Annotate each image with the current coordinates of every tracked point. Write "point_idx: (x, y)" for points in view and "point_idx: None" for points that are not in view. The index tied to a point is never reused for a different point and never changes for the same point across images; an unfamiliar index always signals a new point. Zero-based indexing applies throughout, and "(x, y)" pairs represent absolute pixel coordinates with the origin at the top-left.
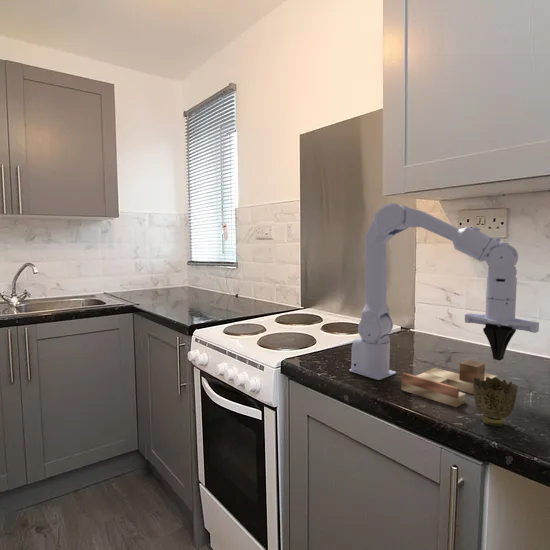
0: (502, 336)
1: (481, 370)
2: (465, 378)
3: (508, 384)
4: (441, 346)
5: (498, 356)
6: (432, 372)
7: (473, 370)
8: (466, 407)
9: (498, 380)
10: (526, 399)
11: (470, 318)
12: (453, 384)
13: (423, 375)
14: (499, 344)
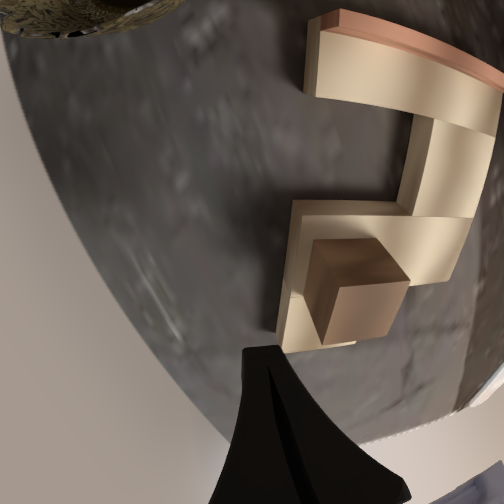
0: (240, 501)
1: (321, 305)
2: (360, 244)
3: (46, 31)
4: (417, 405)
5: (252, 363)
6: (454, 238)
7: (348, 273)
8: (278, 46)
9: (106, 23)
10: (159, 286)
11: (490, 500)
12: (384, 208)
13: (472, 190)
14: (258, 434)
